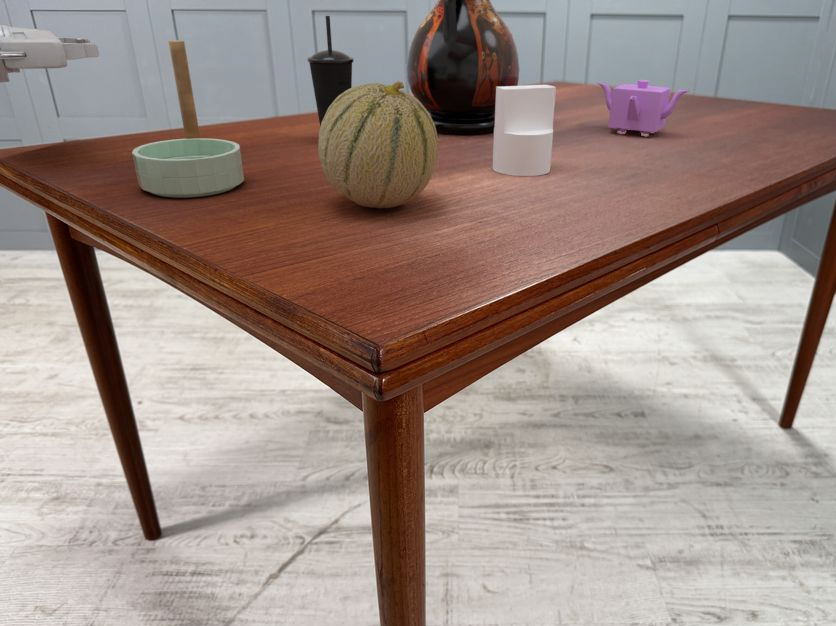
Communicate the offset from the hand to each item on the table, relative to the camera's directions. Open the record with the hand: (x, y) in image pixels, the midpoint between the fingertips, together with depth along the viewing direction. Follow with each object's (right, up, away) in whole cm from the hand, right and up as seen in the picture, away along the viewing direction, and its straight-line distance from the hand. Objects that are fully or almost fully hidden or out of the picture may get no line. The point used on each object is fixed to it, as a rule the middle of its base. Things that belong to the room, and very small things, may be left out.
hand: (94, 47), depth 102 cm
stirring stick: (+10, -10, +13) cm, 20 cm away
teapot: (+90, -4, +29) cm, 95 cm away
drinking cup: (+34, -9, +17) cm, 39 cm away
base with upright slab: (+66, -18, +2) cm, 68 cm away
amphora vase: (+56, -2, +31) cm, 64 cm away
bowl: (+20, -24, -11) cm, 33 cm away
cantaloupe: (+46, -28, -17) cm, 56 cm away
